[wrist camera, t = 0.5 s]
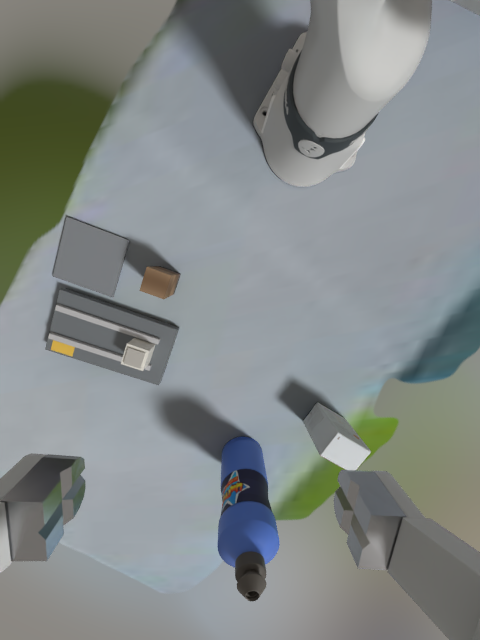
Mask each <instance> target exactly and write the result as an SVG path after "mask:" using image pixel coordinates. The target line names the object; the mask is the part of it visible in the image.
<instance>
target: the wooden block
mask: <svg viewBox="0 0 480 640" xmlns="http://www.w3.org/2000/svg"><path fill="white" fill-rule="evenodd" d="M180 275H181V274H179V273H177V272H174V271H171V270H168V269H166V268H163V267H160V266H153V267H147V268H146V271H145V274H144V278H143V281H142V284H141V288H140V291H142V292H145V293H148V294H151V295H153V296H156V297H159V298H162V299H165V298H167V297H169V296H171V295H173V294H174V293H175V290H176V287H177V284H178V281H179V278H180Z"/></svg>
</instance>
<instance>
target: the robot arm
mask: <svg viewBox="0 0 480 640" xmlns="http://www.w3.org/2000/svg"><path fill="white" fill-rule="evenodd" d="M450 1H452V2H454V3H456V4H458V5H460V6H462V7H463V8H465V9H467V10H469V11H471V12H473V13H475V14H477V15H479V16H480V0H450ZM310 3H311V15H310V21H309V26H308V30H307V32H304V33H302V34H301V35H300V36H299V38H298V40H297V41H296V43H295V45H294V47H293V48H292V49H290V48H289V50H288V52H287V53H286V56H285V58H284V60H283V63H282V66H281V67H282V68H281V70H280V72H279V73H278V75H277V77H276V79H275V81H274V82H273V84H272V86H271V88H270V90H269V91H268V93H267V95H266V97H265V99H264V100H263V102H262V104H261V106H260V107H259V109H258V111H257V113H256V115H255V117H254V120H253V124H254V127H255V129H256V131H257V133H258V134H259V136H260V137H261V139H262V143H263V148H264V153H265V156H266V159H267V162H268V164H269V166H270V168H271V169H272V171H273V172H274V173H275V174H276V175H277V176H278V177H279V178H280V179H281V180H283V181H284V182H286V183H288V184H291V185H294V186H299V187H307V186H313V185H316V184H318V183H320V182H322V181H324V180H325V179H327V178H328V177H329V176H331V175H332V174H334V173H336V172H340V171H344V170H347V169H349V168H350V167H351V166H352V165H353V164H354V162H355V159H356V154H357V150H358V149H359V148H360V147H361V146H362V145H363V143H364V141H365V138H364V136H365V132H366V131H367V130H368V128H369V127H370V126H371V124H372V123H373V121H374V120H375V118H376V117H377V115H378V113H379V112H380V111H381V109H382V108H383V107H384V106H385V105H386V104H387V103H388V102H389V101H390V100H391V99H392V98H393V97H394V96H395V95H396V94H397V93H398V92H399V91H400V90H401V89H402V88H403V87H404V86H405V85H406V84H407V82H408V81H409V80H410V78H411V77H412V75H413V74H414V72H415V70H416V69H417V67H418V65H419V63H420V61H421V59H422V56H423V54H424V52H425V49H426V46H427V42H428V38H429V33H430V27H431V13H432V0H310ZM262 113H266V116H263V114H262ZM84 469H85V464H84V459H83V458H82V457H75V456H62V455H49V454H48V455H43V454H29V455H26V456H25V457H23V458H22V459H21V460H20V461H19V462H18V463H17V464H16V465H15V466H14V467H13V468H12V469H10V470H9V471H8V472H7V473H6V474H5V475H4V476H3V477H2V478H1V479H0V573H1V572H2V571H3V570H4V569H5V568H7V567H8V566H9V565H10V564H11V561H47V560H48V559H49V557H50V555H51V554H52V552H53V551H54V549H55V547H56V546H57V544H58V543H59V541H60V539H61V538H62V536H63V534H64V529H63V525H65V524H66V523H67V522H69V521H70V520H71V519H73V518H74V516H75V515H76V513H77V511H78V510H79V508H80V505H81V503H82V500H83V497H84V493H85V480H84V479H83V477H82V476H81V475H80V474H81V473H82V471H83V470H84ZM338 482H339V484H340V487H339V488H338V489H337V490H336V491H335V496H334V509H335V514H336V518H337V521H338V523H339V525H340V528H342V529H343V530H344V531H345V532H346V533H347V534H348V540H347V544H348V547H349V549H350V551H351V554H352V556H353V558H354V561H355V563H356V565H357V567H358V568H360V569H377V570H388V573H389V574H390V575H391V576H392V577H393V579H394V580H395V581H396V582H397V583H398V584H399V585H400V586H401V587H402V589H403V590H404V591H405V592H406V593H407V594H408V595H409V596H410V597H411V598H412V599H413V601H414V602H415V603H416V604H417V605H418V606H419V607H420V608H421V609H422V610H423V612H424V613H425V614H426V615H427V616H428V617H429V618H430V619H431V620H432V621H433V622H434V624H435V625H436V626H437V627H438V628H439V629H440V630H441V631H442V632H443V633H444V634H445V636H446V637H447V638H448V639H449V640H480V552H479V551H477V550H476V549H474V548H473V547H471V546H470V545H468V544H467V543H465V542H464V541H463V540H461V539H459V538H458V537H457V536H455V535H454V534H452V533H451V532H450V531H448V530H447V529H445V528H444V527H442V526H441V525H439V524H438V523H436V522H435V521H433V520H432V519H430V518H425V517H424V516H423V515H422V513H421V512H420V511H419V509H418V508H417V507H416V505H415V504H414V503H413V502H412V500H411V499H410V498H409V497H408V495H407V494H406V493H405V492H404V490H403V489H402V488H401V486H400V485H399V484H398V483H397V481H396V480H395V479H394V477H393V476H392V475H391V474H390V473H388V472H387V471H358V470H341V471H340V473H339V476H338Z"/></svg>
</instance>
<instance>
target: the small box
mask: <svg viewBox="0 0 480 640" xmlns="http://www.w3.org/2000/svg"><path fill="white" fill-rule="evenodd" d="M303 423H304V424H305V427H306V428H307V430H308V432H309V434H310V436H311V438H312V440H313V442H314V444H315V446H316V448H317V450H318V452H319V454H320V456H322V457H324V458H326V459H327V460H329V461H331V462H333V463H335V464H337V465H338V466H340V467H342V468H344V469H346V470H356V469H357V468H358V467H359V466H360V464H361V463H362V462H363V461H364V460H365V459H366V457H367V456H368V455H369V454H370V453H371V451H370V450H369V448H368V447H367V446H366V444H365V443H364V442H363V441H362V439H361V438H360V437H359V436H358V434H357V433H356V432H355V431H354V429H353V428H352V427H351V425H350V424H349V423H348V422H347V420H346V419H345V418H343V417H342V416H340V415H338V414H337V413H335V412H333V411H331V410H330V409H328V408H326V407H325V406H323V405H321V404H320V403H318V402H317V403H316V405H315V406H314V407H313V409H312V410H311V411H310V413H309V414H308V415H307V417H306V418H305V419H304V421H303Z"/></svg>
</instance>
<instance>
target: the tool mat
mask: <svg viewBox="0 0 480 640" xmlns="http://www.w3.org/2000/svg"><path fill="white" fill-rule="evenodd" d="M129 241H130V240H127V239H125V238H122V237H119V236H117V235H114V234H111V233H109V232H106V231H103V230H101V229H98V228H96V227H93V226H90V225H88V224H85V223H82V222H80V221H77V220H74V219H72V218H69V217H66V221H65V225H64V230H63V234H62V238H61V242H60V247H59V251H58V255H57V260H56V264H55V268H54V273H53V277H56V278H59V279H62V280H65V281H68V282H71V283H73V284H76V285H79V286H82V287H85V288H88V289H91V290H93V291H96V292H99V293H102V294H105V295H108V296H110V297H114V294H115V290H116V287H117V283H118V280H119V276H120V273H121V269H122V265H123V262H124V258H125V255H126V251H127V248H128V244H129Z"/></svg>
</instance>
